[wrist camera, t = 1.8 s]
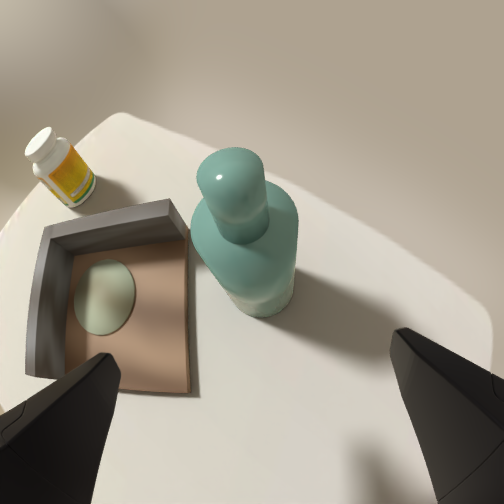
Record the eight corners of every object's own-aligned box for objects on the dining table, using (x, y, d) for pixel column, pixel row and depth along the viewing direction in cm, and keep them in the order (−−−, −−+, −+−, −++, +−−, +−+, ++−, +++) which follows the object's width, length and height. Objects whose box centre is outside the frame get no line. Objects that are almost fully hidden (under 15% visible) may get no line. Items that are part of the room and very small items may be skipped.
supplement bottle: (60, 212, 28) (13, 167, 19) (71, 179, 30) (31, 132, 22) (92, 203, 28) (44, 150, 19) (101, 168, 30) (62, 115, 21)
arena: (190, 392, 19) (165, 396, 15) (60, 378, 20) (25, 374, 16) (188, 228, 25) (169, 198, 20) (71, 247, 26) (44, 227, 21)
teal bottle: (297, 313, 21) (313, 223, 8) (231, 320, 21) (156, 243, 9) (289, 253, 23) (288, 119, 10) (228, 260, 23) (170, 138, 11)
